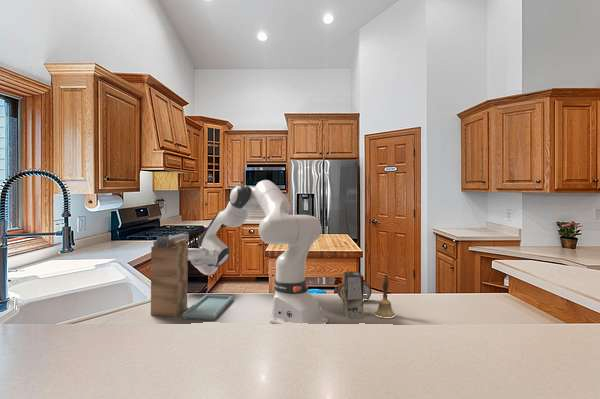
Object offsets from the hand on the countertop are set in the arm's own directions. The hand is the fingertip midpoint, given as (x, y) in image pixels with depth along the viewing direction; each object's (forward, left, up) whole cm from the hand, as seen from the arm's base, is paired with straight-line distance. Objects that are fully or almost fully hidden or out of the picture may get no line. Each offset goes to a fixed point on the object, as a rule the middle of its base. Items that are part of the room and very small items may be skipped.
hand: (190, 248), depth 152 cm
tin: (-53, -51, -22) cm, 77 cm away
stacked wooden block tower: (-12, +15, -22) cm, 29 cm away
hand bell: (-72, -45, -22) cm, 88 cm away
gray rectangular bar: (-10, +12, +4) cm, 16 cm away
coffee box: (-63, -36, -22) cm, 76 cm away
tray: (-20, +2, -22) cm, 30 cm away
